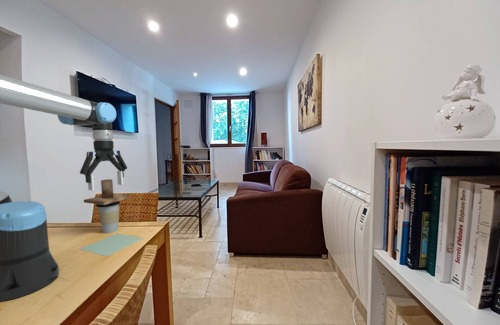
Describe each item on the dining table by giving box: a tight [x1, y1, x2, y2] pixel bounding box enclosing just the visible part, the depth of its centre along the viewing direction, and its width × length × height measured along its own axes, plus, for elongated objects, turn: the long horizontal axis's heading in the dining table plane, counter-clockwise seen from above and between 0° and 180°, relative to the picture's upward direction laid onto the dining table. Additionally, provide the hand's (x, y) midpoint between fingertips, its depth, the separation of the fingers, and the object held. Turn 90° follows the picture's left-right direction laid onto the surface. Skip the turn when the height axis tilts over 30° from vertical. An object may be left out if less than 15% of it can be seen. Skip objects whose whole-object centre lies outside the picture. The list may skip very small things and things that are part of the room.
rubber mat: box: [79, 233, 145, 257], centre depth 90 cm, size 16×16×1 cm
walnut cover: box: [83, 178, 132, 205], centre depth 102 cm, size 13×13×9 cm
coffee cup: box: [95, 201, 121, 234], centre depth 103 cm, size 9×9×15 cm
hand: (106, 187), depth 102 cm, fingers open, 13 cm apart
